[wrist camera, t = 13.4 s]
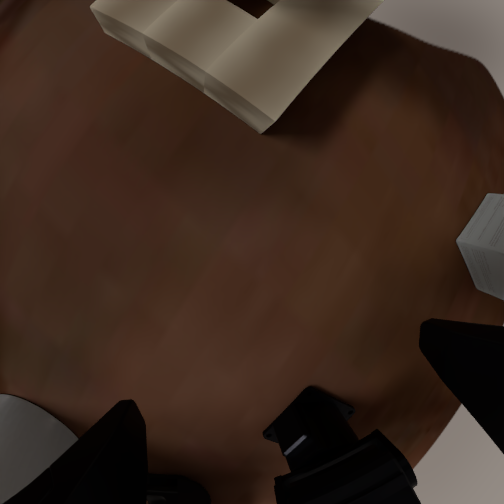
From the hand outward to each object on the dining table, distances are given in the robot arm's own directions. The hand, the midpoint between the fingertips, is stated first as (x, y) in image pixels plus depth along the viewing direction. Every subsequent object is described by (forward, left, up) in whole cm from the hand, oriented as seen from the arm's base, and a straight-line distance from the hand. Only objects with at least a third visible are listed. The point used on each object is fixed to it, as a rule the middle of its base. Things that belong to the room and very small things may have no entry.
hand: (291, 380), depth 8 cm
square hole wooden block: (+11, -15, -13) cm, 23 cm away
